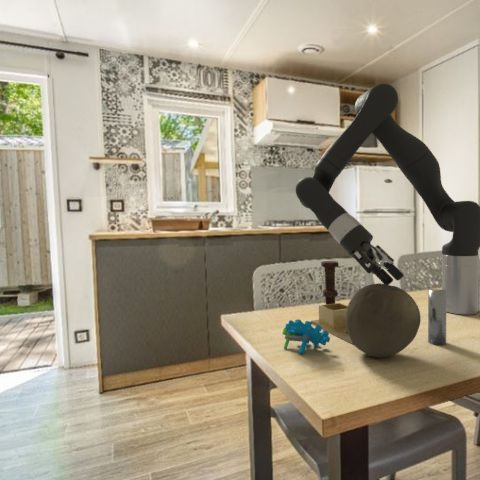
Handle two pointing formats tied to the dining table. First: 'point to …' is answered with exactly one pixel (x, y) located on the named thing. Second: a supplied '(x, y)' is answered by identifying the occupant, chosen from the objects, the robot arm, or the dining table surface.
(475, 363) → the dining table surface
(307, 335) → the blue lobed toy
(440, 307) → the pin
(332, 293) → the bolt
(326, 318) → the hinge leaf
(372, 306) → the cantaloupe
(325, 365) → the dining table surface
